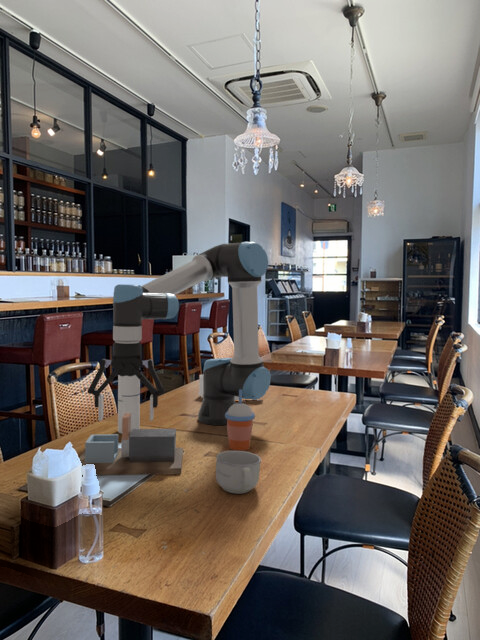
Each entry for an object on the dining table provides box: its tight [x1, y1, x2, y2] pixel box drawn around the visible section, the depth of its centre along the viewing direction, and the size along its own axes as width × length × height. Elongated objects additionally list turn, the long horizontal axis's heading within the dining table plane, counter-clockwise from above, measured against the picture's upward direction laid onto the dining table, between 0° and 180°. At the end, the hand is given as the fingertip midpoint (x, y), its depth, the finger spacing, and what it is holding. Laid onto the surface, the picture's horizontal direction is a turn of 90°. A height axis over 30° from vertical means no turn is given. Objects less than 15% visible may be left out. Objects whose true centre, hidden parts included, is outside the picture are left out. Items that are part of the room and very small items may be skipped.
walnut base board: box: [78, 447, 184, 476], centre depth 126 cm, size 28×16×2 cm, turn 95°
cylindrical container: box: [117, 374, 141, 434], centre depth 155 cm, size 7×7×25 cm
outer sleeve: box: [129, 428, 177, 463], centre depth 126 cm, size 12×7×7 cm, turn 95°
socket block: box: [84, 433, 119, 463], centre depth 125 cm, size 7×7×6 cm
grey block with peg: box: [120, 413, 131, 457], centre depth 126 cm, size 13×5×11 cm, turn 95°
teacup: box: [215, 450, 262, 495], centre depth 109 cm, size 14×11×8 cm
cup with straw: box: [225, 389, 256, 451], centre depth 140 cm, size 9×9×18 cm
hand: (126, 419), depth 125 cm, fingers open, 13 cm apart
